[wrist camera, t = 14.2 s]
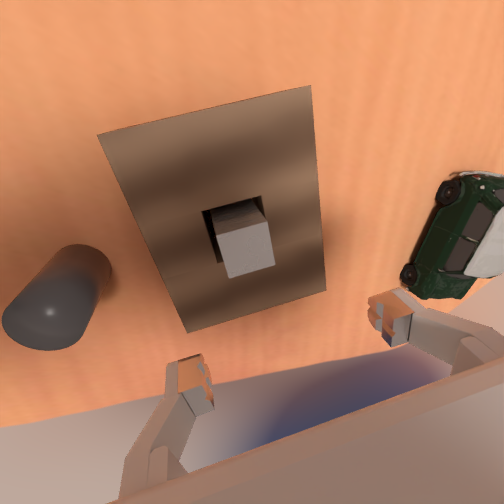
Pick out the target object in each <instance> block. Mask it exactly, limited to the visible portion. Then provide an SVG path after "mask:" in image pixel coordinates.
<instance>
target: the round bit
mask: <svg viewBox="0 0 504 504" xmlns="http://www.w3.org/2000/svg"><path fill="white" fill-rule="evenodd" d="M110 275H111V265H110V262H109V260H108V258H107V257H106V256H105V255H104V254H103V253H102V252H100V251H99V250H97V249H96V248H93V247H91V246H87V245H81V244H76V245H69V246H66V247H64V248H62V249H61V250H59V251H58V252H57V253H56V254H55V255H54V256H53V258H52V259H51V260H50V261H49V262H48V263H47V264H46V265H45V266H44V267H43V268H42V270H41V271H40V272H39V273H38V274H37V275H36V276H35V277H34V278H33V279H32V281H31V282H30V283H29V284H28V285H27V286H26V287H25V288H24V289H23V290H22V291H21V293H20V294H19V295H18V296H17V297H16V298H15V299H14V300H13V301H12V302H11V304H10V305H9V306H8V307H7V308H6V309H5V311H4V313H3V315H2V326H3V328H4V330H5V332H6V333H7V334H8V336H9V337H10V338H12V339H13V340H14V341H16V342H17V343H19V344H21V345H23V346H26V347H28V348H32V349H36V350H44V351H51V350H60V349H64V348H67V347H69V346H71V345H73V344H75V343H76V342H77V341H78V340H79V339H80V338H81V337H82V335H83V333H84V331H85V329H86V327H87V325H88V323H89V320H90V318H91V316H92V314H93V312H94V310H95V307H96V305H97V303H98V301H99V299H100V297H101V294H102V292H103V290H104V288H105V286H106V284H107V281H108V279H109V277H110Z"/></svg>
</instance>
